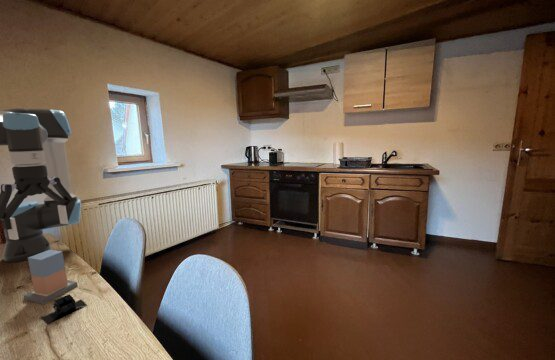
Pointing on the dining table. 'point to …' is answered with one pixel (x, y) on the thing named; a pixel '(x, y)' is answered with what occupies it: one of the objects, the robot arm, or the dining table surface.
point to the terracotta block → (50, 282)
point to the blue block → (46, 263)
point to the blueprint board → (45, 298)
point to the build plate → (63, 308)
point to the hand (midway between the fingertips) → (41, 230)
